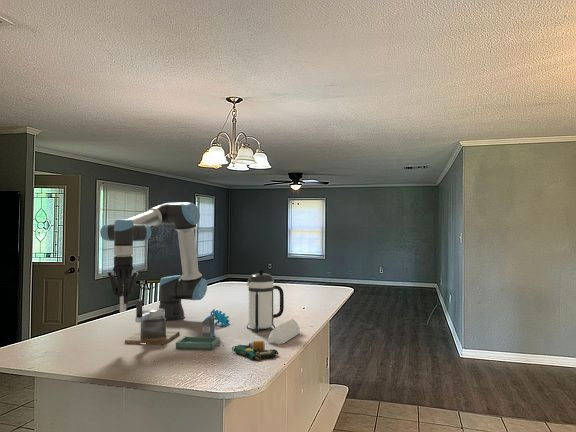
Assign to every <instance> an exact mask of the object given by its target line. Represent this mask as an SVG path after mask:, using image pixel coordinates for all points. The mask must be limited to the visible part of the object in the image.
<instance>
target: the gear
mask: <svg viewBox="0 0 576 432" xmlns="http://www.w3.org/2000/svg"><path fill="white" fill-rule="evenodd" d="M229 316H230V315H226V313H225V312H223V311H222V310H217V309H215V312H214V321H216V322H214V326H217V325H219V324H220V326H221V327H222V326H223V327H228V325H230V319H229Z"/></svg>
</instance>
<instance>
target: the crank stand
mask: <svg viewBox="0 0 576 432" xmlns="http://www.w3.org/2000/svg"><path fill="white" fill-rule="evenodd" d="M179 335H181V332H180V330H175V331H174V330H167V320H166V319H164V320H161V321H155V322H145V321H142V322H140V331H139V332H137V333H135V334H133V335H131V336H130V337H128V338H126V339H124V344H125V343H146V344H145V345H154V344H165V345H166V344H168V343H169V342H171V341H173V340H174V339H175V338H177V337H178V336H179ZM170 340H171V341H170ZM167 342H168V343H167Z"/></svg>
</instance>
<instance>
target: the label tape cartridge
mask: <svg viewBox="0 0 576 432" xmlns="http://www.w3.org/2000/svg"><path fill="white" fill-rule="evenodd" d="M215 311H216V309H215V308H214V309H212V310H211V311H210V315H209V316H207V317H206V318H204V320H202V337H215V319H214V318H215V317H214V312H215Z"/></svg>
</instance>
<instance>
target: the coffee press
mask: <svg viewBox="0 0 576 432" xmlns="http://www.w3.org/2000/svg"><path fill="white" fill-rule="evenodd" d="M258 272H259V273H253V274H251V275H250V276H249V277H248V280H247V283H246V286H247V289H248V323H247V325H246V329H248V330H249V329H250V328H253V329H254V333H259V330H262V329H268V328H269V329H271V331H272V330H273V329H274V328H276V326H275V325H274V319H276V318H277V319H278V318H280V317H281V316H282V314H283V312H284V308H285V303H284V301H285V299H284V290H283V288H282V287H281V286H279V285H274V282H275V278H274V277H273V275H272V274H269V273H264V269H263V268H259V269H258ZM274 290H278V292H279V311H278V312H277V313H274Z"/></svg>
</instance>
